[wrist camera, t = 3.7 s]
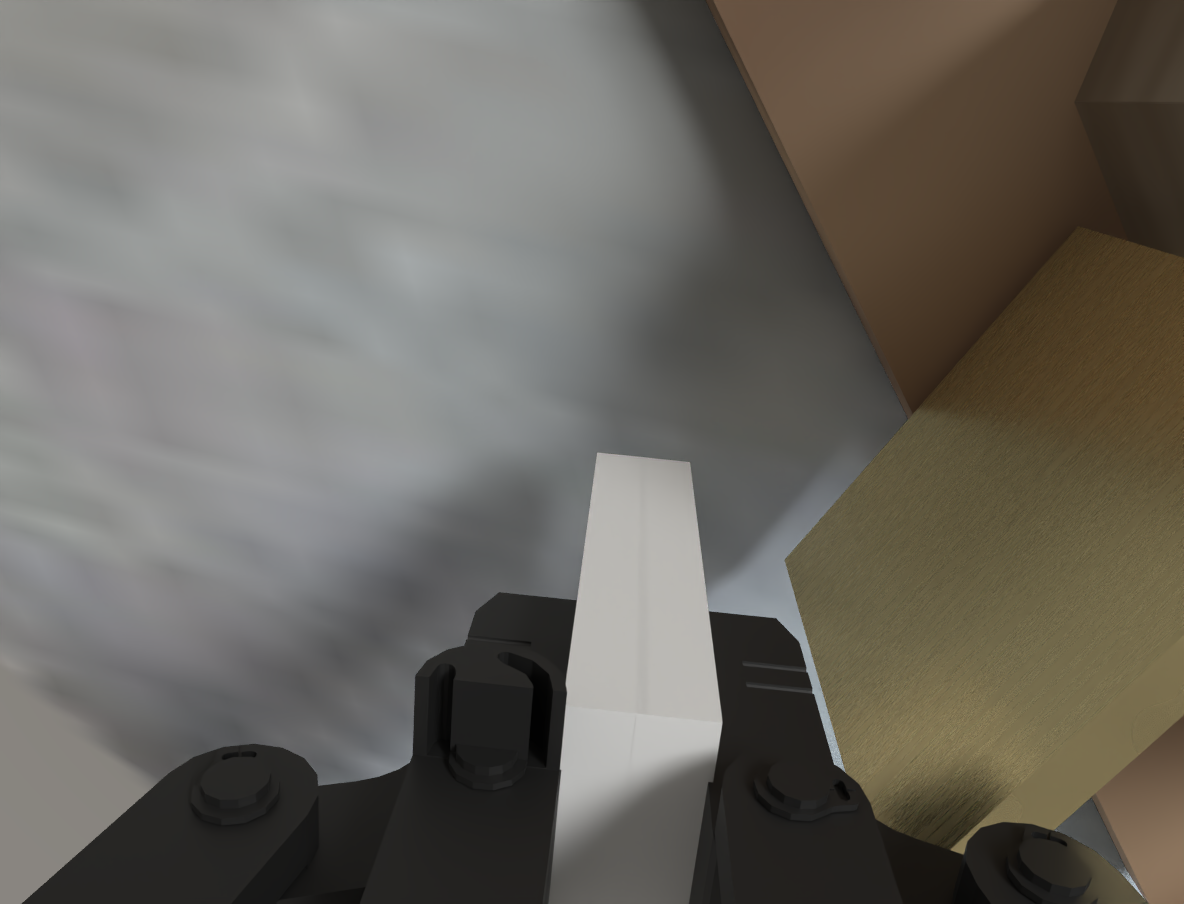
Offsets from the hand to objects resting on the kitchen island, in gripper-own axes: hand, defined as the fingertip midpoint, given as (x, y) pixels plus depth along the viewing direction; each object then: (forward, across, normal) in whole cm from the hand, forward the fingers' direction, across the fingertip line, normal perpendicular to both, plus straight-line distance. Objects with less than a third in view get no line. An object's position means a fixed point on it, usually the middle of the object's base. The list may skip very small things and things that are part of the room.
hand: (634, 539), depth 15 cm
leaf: (+2, +5, +2) cm, 5 cm away
